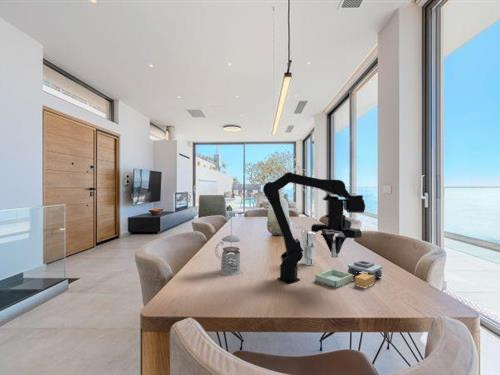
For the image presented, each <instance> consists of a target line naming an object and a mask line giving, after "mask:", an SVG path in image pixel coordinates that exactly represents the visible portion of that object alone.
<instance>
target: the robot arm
mask: <svg viewBox="0 0 500 375" xmlns="http://www.w3.org/2000/svg"><path fill="white" fill-rule="evenodd" d="M288 184H295V185H299V186H305V187H310V188H314V189H317V190H318V189H319V190H321V191H323V192H325V193H327V194H326V195H325V196H323V198H322V201H327V214H325V218H327V224H325V223H314V224H312V225H311V227H310V231H312V232H316V233H318V232H320V231H321V233H320V236H322V238H323V239H324V241H325V243H326V246H327V248H328V250H329V252H330V253H331V251H332V239H334V238H335V242H336V252H337V254H338V255H339V254H340V252H341V250H342V248H343V247H342V246H343V244H344V242H345V241H346V240H347V239H358V238H362V231H361V229H360V228H353V227H351V226H352V222H351V221H350V220H348V219H346V215H345V214H344V210H345V211H346V212H347V214H348V213H349V214H351V213H353V214H363V213H364V212H365V210H366V204H365V200H364V196H363V195H361V194H357V195H351V194H350V193H349V192H348V190H347V189H346V184H345V182H344V181H343V180H340V179H327V178H325V179H321V178H318V177H317V178H316V177H311V176H307V175H302V174H297V173H293V172H292V171H288V172H285V173H284V174H283V175H282V176H280V177H279V178H277V179H276V180H275V181H272V182H271V181H270V182H266V183H265V184H264V185H263V188H262V190H263V195H265V197H266V199H267V201H268V202H269V204H270V206H271V208H272V211H273V214H274V216H275V219H276V221H277V225H278V227H279V229H280V232H281V235H282V238H283V243H284V249H285V251H284V252H283V253H282V254H281V255H280V259H281V264H280V266H279V269H280V270H279V274H280V276H279V277H277V278H276V279H277V280H278V281H281V282H284V283H285V284H293V283H297V282H298V281H301V280H300V278H299V277H298V263H299V262H300V261H302V257H303V254H302V252H303V249H302V247H301V240H299V238H294V236H293V233H292V230H291V227H290V225H289V223H288V219H287V217H286V214H285V212H284V208H283V206H282V203H281V196H280V190H281V189H282V188H284V187H285V186H287V185H288ZM330 194H331V195H330ZM333 195H334V196H333ZM335 234H337V235H336V236H335Z"/></svg>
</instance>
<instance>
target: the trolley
mask: <svg viewBox="0 0 500 375" xmlns="http://www.w3.org/2000/svg"><path fill="white" fill-rule="evenodd" d="M347 268H348V270H347V273H350V274H353V275H355V274H356V275H357V274H359V272H362V273H367V274H370V275H374V276H375V280H377V278H379V277H381V278H382V274H383V272H382V270H383V266H382V265H379V264H378V265H377V264H375V263H374V262H370V261H366V260H361V259H360V260H357V261H355V262H352V263H349V264H347ZM356 272H358V273H356ZM356 275H355V276H356Z"/></svg>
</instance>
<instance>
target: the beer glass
mask: <svg viewBox="0 0 500 375" xmlns="http://www.w3.org/2000/svg"><path fill="white" fill-rule="evenodd" d="M316 234H317V232H312V231H311V230H302V231H301V237H300V245H301V248H302V249H303V252H302V254H303V257H302V259H301V265H304V266H314V265H315V264H316V262H315V252H316V247H317V235H316Z"/></svg>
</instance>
